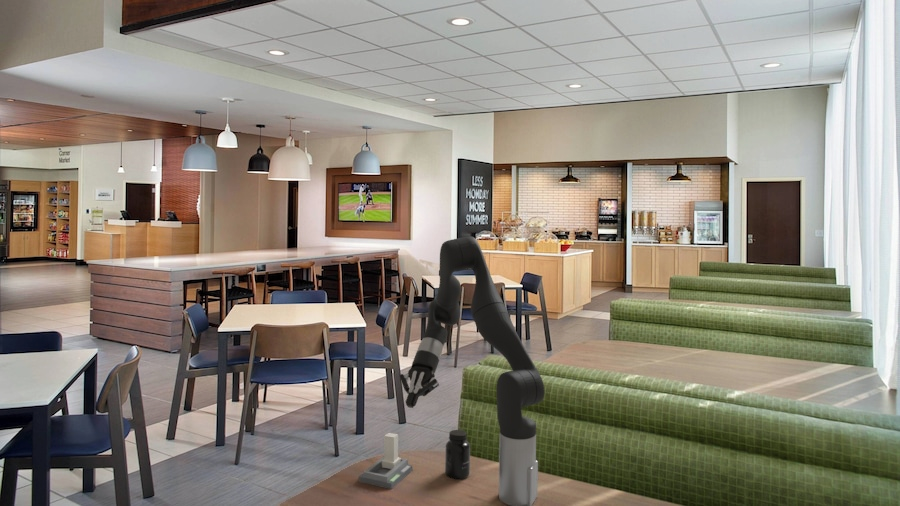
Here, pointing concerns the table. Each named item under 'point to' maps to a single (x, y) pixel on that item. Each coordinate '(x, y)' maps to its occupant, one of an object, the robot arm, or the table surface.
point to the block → (390, 451)
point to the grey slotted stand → (385, 474)
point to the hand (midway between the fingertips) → (409, 406)
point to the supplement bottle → (457, 455)
